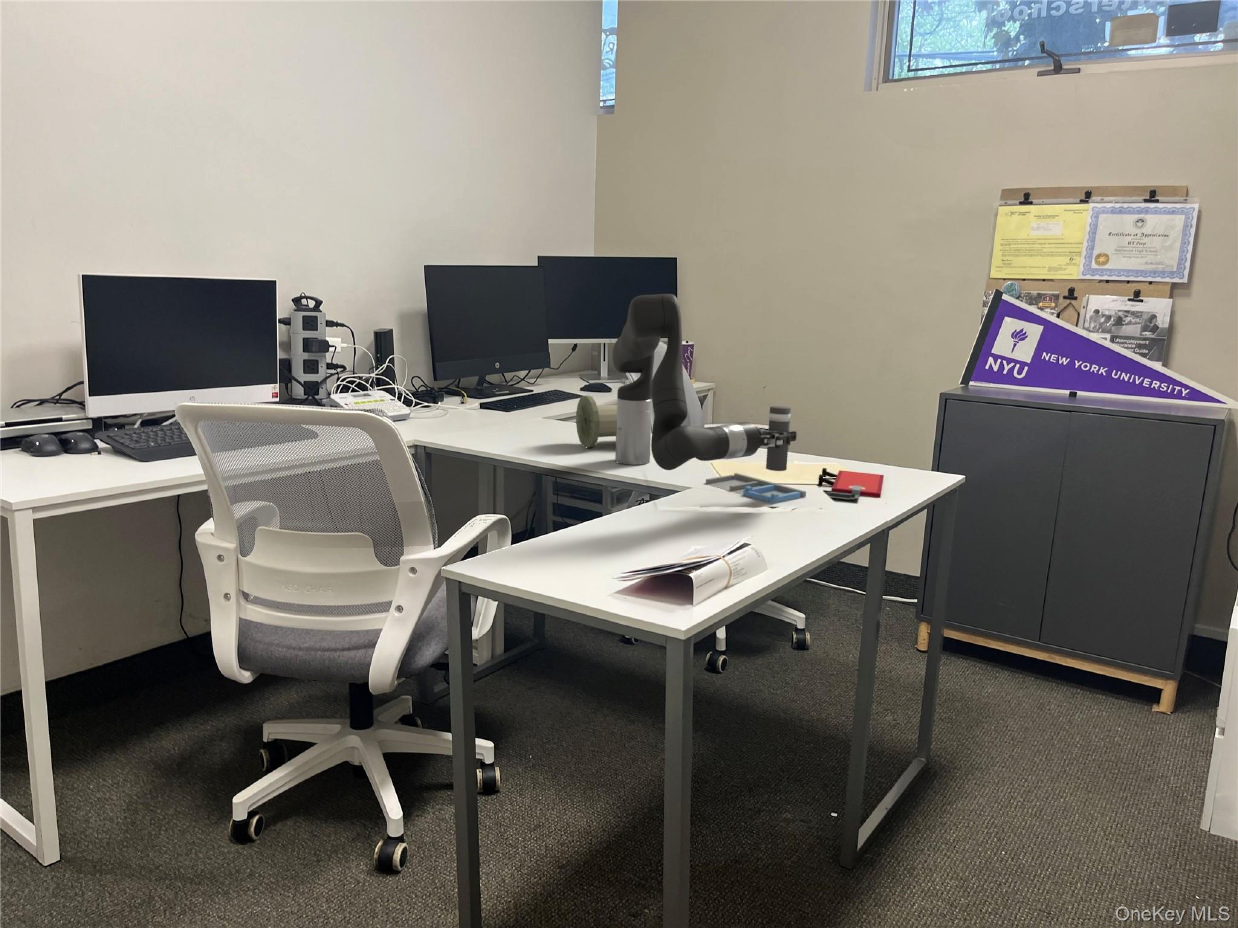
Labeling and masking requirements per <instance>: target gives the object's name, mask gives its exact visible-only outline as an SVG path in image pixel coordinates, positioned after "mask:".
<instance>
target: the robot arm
mask: <svg viewBox="0 0 1238 928" xmlns="http://www.w3.org/2000/svg"><path fill="white" fill-rule="evenodd" d="M682 327H683V326H682V314H681V306H680V303H679V300H678V298H677V297H676V295H675V294H672V293H659V294H641V295H638V296H635V297H633V298H632V300H631V301H630V304H629V306H628V312H627V318H626V323H625V325H624V326H623V328H622V331H621V334H620V336H619V337H618V338H617V339H616V341H615V343H614V346H613V350H612V364H613V366H614V368H615V370H616V371H617V372H619V373H623V374H640V376H638V378H637V379H635V380H634V381H632V382H630V383H627V384H624V385H621V386H619V387H618V388H617V393H616V395H617V397H616V398H617V400H616V401H617V402H616V403H617V404H616V405H617V425H616V436H615V457H614V458H615V463H616V462H618V463H617V464H622V463H623V465H646V464H649V463H650V462H651V455H652V458H653V460H654V461H655V463H656V465H657V466H658V467H659V468H661V469H662V470H665V471H672V470H675V469H677V468H679V467H681V466H682V465H684V464H686V463H687V462H688V461H691V460H692V459H694V458H695V459H696V460H698V461H701V462H710V461H716V460H717V461H718V460H731V459H738V458H745V457H751V456H753V455H755V454H756V453H757V452H758V450H759V449H765V448H766V449H767V447H771V446H775V448H777V449H779V448H782V447H785V446H788V447H789V446H791V442H795V441H796V440H797V437H798V433H797V431H796V430H789V432H778V431H775V430H768V429H769V427H768V428H766V427H759V426H755V425H754V424H752V423H751V422H749V421H743V422H734V423H725V424H720V425H717V426H709V427H701V426H696V425H690V424H689V425H688V424H687V425H683V423H684V422H685V421H686V419H687V417H688V413H689V412H688V404H687V398H686V391H685V385H684V384H685V383H684V377H683V376H684V373H683V372H684V371H683V367H684V366H683V360H684V359H683V334H682V333H683V331H682V330H683V329H682ZM661 338H667V345H666V350H665V353H664V354H663V357H662V360H661V361H660V363H659V365H658V367H657V368H656V371H655V373H654V364H655V351H656V349H657V348H658V347H659V345H660V341H661ZM652 410H653V424H652ZM771 434H772V435H771Z"/></svg>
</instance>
